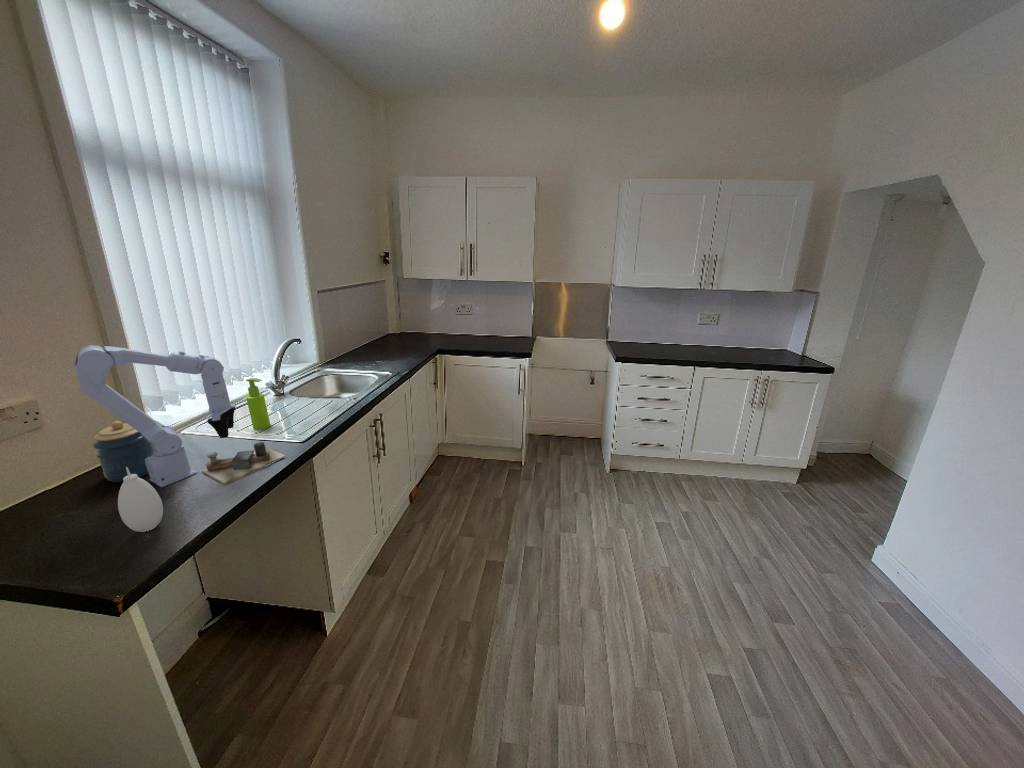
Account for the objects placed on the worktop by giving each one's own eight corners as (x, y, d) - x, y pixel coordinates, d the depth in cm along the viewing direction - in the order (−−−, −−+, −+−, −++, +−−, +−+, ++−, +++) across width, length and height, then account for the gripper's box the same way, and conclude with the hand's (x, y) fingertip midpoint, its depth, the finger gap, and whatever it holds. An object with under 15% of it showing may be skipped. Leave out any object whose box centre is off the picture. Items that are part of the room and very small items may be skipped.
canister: (128, 485, 121) (108, 432, 116) (94, 481, 124) (73, 428, 118) (170, 463, 133) (154, 414, 128) (139, 460, 136) (122, 411, 130)
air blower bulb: (127, 529, 102) (103, 466, 96) (166, 515, 107) (146, 455, 101) (129, 544, 97) (104, 479, 91) (170, 529, 102) (149, 466, 96)
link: (205, 471, 126) (201, 456, 124) (209, 465, 130) (205, 450, 128) (268, 460, 132) (265, 445, 131) (270, 454, 136) (266, 440, 134)
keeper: (250, 470, 129) (247, 459, 127) (234, 472, 127) (231, 461, 126) (256, 460, 135) (253, 449, 133) (240, 462, 133) (238, 451, 132)
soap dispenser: (264, 430, 157) (253, 381, 151) (249, 429, 158) (238, 380, 152) (276, 424, 162) (265, 377, 156) (261, 422, 164) (250, 376, 157)
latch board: (224, 484, 121) (223, 482, 121) (202, 472, 128) (201, 470, 128) (285, 457, 136) (285, 455, 136) (263, 447, 143) (262, 445, 143)
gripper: (226, 399, 124) (236, 439, 129) (236, 385, 137) (245, 422, 141) (198, 403, 122) (210, 443, 126) (211, 388, 134) (221, 425, 139)
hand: (227, 432), depth 134 cm, fingers open, 7 cm apart
